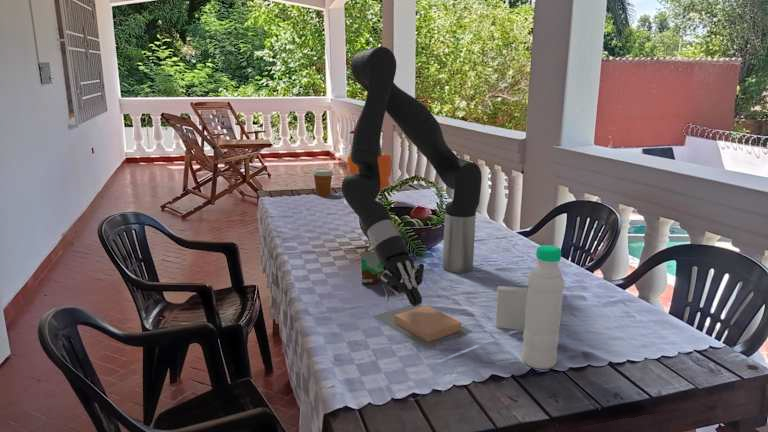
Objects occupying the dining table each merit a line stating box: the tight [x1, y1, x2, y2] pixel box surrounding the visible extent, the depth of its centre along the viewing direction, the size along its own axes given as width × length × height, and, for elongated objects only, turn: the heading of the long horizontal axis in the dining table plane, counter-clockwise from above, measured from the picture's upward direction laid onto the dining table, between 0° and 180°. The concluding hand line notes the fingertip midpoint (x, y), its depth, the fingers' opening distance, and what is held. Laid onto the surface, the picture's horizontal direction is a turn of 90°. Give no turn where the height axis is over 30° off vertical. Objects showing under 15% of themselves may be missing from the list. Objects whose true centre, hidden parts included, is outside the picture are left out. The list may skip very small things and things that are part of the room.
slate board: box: [372, 304, 473, 349], centre depth 133 cm, size 20×14×1 cm
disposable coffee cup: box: [312, 168, 334, 197], centre depth 269 cm, size 10×10×12 cm
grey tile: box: [494, 285, 529, 332], centre depth 131 cm, size 2×8×10 cm, turn 83°
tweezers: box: [380, 282, 404, 302], centre depth 154 cm, size 18×5×2 cm, turn 14°
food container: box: [360, 241, 384, 286], centre depth 160 cm, size 12×6×10 cm, turn 168°
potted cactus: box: [343, 128, 393, 206], centre depth 252 cm, size 22×22×35 cm
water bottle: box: [521, 244, 565, 370], centre depth 114 cm, size 7×7×25 cm
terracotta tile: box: [395, 304, 462, 342], centre depth 131 cm, size 2×10×12 cm
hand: (418, 304), depth 133 cm, fingers closed
